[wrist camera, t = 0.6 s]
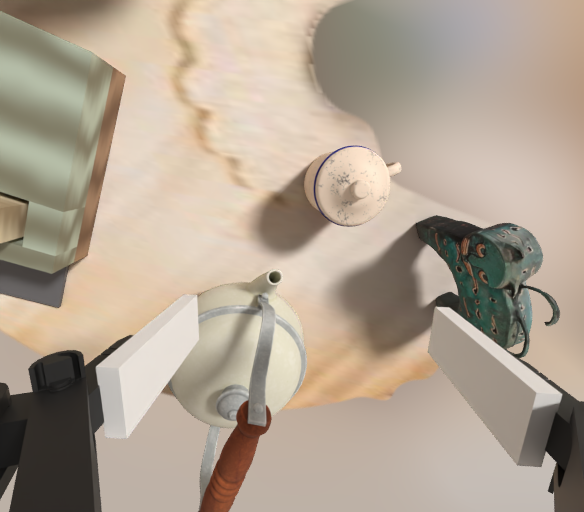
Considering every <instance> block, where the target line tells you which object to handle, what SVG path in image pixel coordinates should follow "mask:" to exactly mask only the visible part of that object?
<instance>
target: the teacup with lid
mask: <svg viewBox="0 0 584 512" xmlns="http://www.w3.org/2000/svg"><path fill="white" fill-rule="evenodd" d="M400 171H401V164H400V163H398V162H393V163H387V164H385V163H384V161H383V160H382V158H381V157H380V156H379V155H378V154H377V153H375V152H374V151H372V150H371V149H369V148H366V147H362V146H347V147H343V148H340V149H338V150H336V151H334V152H330V153H326V154H324V155H322V156H320V157H318V158H317V159H316V160H315V161H314V162H313V163H312V164H311V165H310V167H309V168H308V170H307V173H306V176H305V181H304V189H305V194H306V196H307V199H308V201H309V202H310V203H311V205H312V206H313V207H314V208H315V209H317V210H318V211H320V212H321V213H322V214H323V216H324V217H325V218H327V219H328V220H329V221H331V222H333V223H335V224H337V225H340V226H347V227H350V226H357V225H361V224H363V223H366V222H368V221H369V220H371V219H372V218H374V217H375V216H376V215H377V214H378V213H379V212H380V211H381V210H382V208H383V207H384V205H385V203H386V201H387V199H388V196H389V192H390V177H392V176H394V175H396V174H398V173H399V172H400Z"/></svg>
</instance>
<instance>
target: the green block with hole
mask: <svg viewBox="0 0 584 512" xmlns="http://www.w3.org/2000/svg"><path fill="white" fill-rule="evenodd" d="M125 77H126V76H125V75H124V74H122V73H121V72H119V71H118V70H117V69H115V68H114V67H112V66H111V65H109V64H108V63H107V62H105V61H104V60H102V59H101V58H99V57H98V56H97V55H95V54H94V53H92V52H90V51H88V50H86V49H83V48H81V47H79V46H77V45H75V44H72V43H70V42H68V41H66V40H64V39H61V38H59V37H57V36H55V35H53V34H50V33H48V32H46V31H44V30H41V29H39V28H37V27H35V26H33V25H30V24H28V23H26V22H24V21H22V20H19V19H17V18H15V17H13V16H10V15H8V14H6V13H4V12H2V11H0V192H3V193H6V194H9V195H12V196H15V197H18V198H21V199H24V200H27V201H29V205H28V212H27V219H26V226H25V232H24V237H21V238H17V239H14V240H10V241H7V242H3V243H0V260H4V261H7V262H11V263H15V264H18V265H22V266H25V267H29V268H33V269H36V270H40V271H44V272H47V273H51V274H53V273H55V272H56V271H58V270H60V269H62V268H64V267H66V266H68V265H70V264H72V263H74V262H76V261H78V260H80V259H82V258H84V257H86V256H87V255H88V250H89V245H90V241H91V236H92V231H93V227H94V222H95V217H96V213H97V208H98V203H99V199H100V194H101V189H102V185H103V180H104V175H105V171H106V166H107V161H108V157H109V152H110V147H111V143H112V138H113V133H114V129H115V124H116V119H117V115H118V110H119V105H120V101H121V96H122V91H123V87H124V82H125Z"/></svg>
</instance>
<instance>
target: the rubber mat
mask: <svg viewBox="0 0 584 512" xmlns="http://www.w3.org/2000/svg"><path fill="white" fill-rule="evenodd" d="M68 267H69V265H68V266H66V267H64V268H62V269H60V270H58V271H56V272H55V273H53V274H51V273H47V272H44V271H40V270H36V269H33V268H29V267H25V266H22V265H18V264H15V263H11V262H7V261H4V260H0V293H3V294H7V295H11V296H14V297H18V298H22V299H26V300H30V301H34V302H38V303H42V304H46V305H50V306H54V307H58V308H59V307H60V306H61V303H62V298H63V292H64V287H65V282H66V277H67V272H68Z"/></svg>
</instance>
